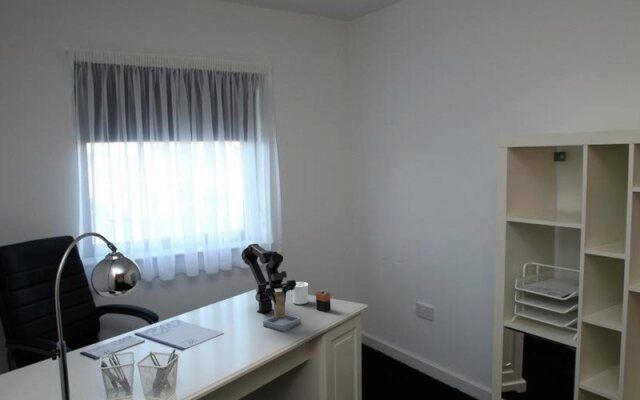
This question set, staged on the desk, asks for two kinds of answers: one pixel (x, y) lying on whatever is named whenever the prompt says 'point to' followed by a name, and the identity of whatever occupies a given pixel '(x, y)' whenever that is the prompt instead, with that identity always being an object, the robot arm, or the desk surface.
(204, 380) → the desk surface
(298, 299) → the mug
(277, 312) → the walnut block
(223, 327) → the desk surface
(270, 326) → the tray
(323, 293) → the battery
